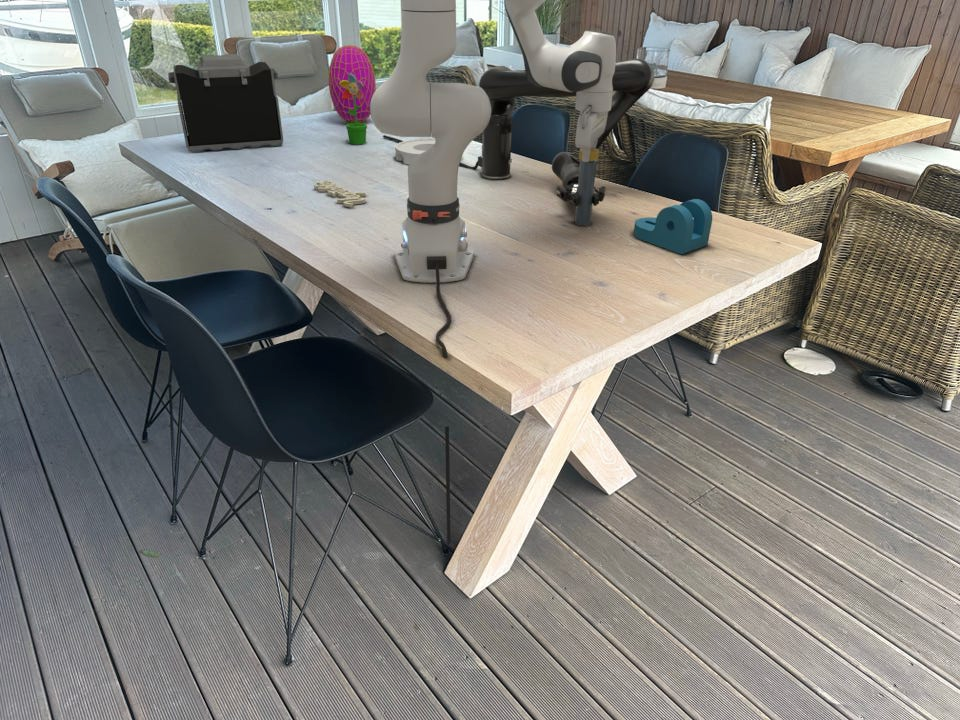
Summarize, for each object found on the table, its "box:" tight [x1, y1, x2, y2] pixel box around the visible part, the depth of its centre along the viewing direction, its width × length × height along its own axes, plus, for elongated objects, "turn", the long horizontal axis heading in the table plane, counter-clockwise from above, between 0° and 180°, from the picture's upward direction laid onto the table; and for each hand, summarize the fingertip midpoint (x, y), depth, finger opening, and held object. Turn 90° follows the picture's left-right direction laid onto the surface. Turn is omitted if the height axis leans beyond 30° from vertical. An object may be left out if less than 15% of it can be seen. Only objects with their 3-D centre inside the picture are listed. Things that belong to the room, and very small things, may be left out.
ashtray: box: [394, 138, 436, 166], centre depth 243 cm, size 23×23×4 cm
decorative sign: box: [313, 179, 366, 209], centre depth 205 cm, size 26×1×10 cm
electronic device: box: [167, 53, 284, 153], centre depth 252 cm, size 37×22×30 cm, turn 111°
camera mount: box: [632, 198, 713, 255], centre depth 173 cm, size 18×10×10 cm, turn 39°
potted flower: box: [339, 73, 368, 145], centre depth 255 cm, size 9×8×25 cm
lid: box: [578, 148, 600, 161], centre depth 177 cm, size 5×5×2 cm
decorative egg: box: [328, 44, 377, 124], centre depth 286 cm, size 19×19×30 cm
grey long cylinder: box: [574, 159, 598, 227], centre depth 181 cm, size 4×4×19 cm
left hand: (588, 158), depth 177 cm, fingers closed on lid, 5 cm apart
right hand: (586, 202), depth 180 cm, fingers closed on grey long cylinder, 4 cm apart
